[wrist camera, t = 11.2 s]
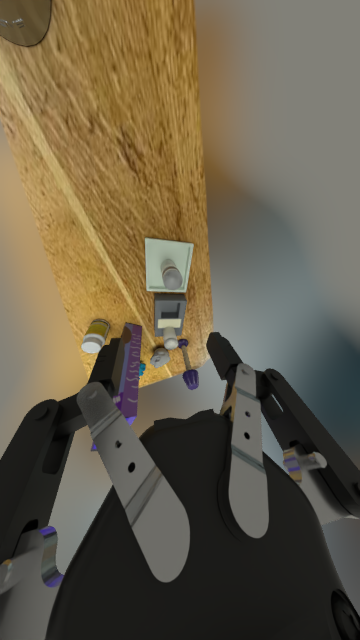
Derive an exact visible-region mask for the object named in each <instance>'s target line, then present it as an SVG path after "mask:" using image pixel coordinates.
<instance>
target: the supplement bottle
mask: <svg viewBox="0 0 360 640" xmlns="http://www.w3.org/2000/svg"><path fill="white" fill-rule="evenodd" d="M109 329H110V325H109V323H108V322H106V321H105V320H100V319H99V320H95V321H93V322H92V323H91V325H90V327H89V329H88V331H87V332H86V334H85V336H84V338H83V343H82V346H81V348H82V350H83V351H85V352H87V353H97V352H99V351H100V350H101V347H102V346H103V345H104V343H105V341H106V338H107V335H108V332H109Z"/></svg>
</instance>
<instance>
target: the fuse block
mask: <svg viewBox="0 0 360 640" xmlns="http://www.w3.org/2000/svg"><path fill="white" fill-rule="evenodd" d="M186 304H187V300H186V298H185V296H184V294H159V293H155V306H154V331H155V337H158V336H163V338H164V347H165V348H166V349H168V350H172V349H175V348H176V347H177V346H178V340H177V337H176V336H179V335H181V333H182V327H183V321H184V315H185V310H186Z"/></svg>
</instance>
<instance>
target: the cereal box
mask: <svg viewBox="0 0 360 640" xmlns="http://www.w3.org/2000/svg"><path fill="white" fill-rule="evenodd" d="M141 333H142V326H139V325H135V324H131V323H127V322H126V323H125V326H124V329H123V332H122V335H121V338H122V341H123V345H124V350H125V357H124V363H123V369H122V375H121V381H120V387H119V393H118V396H113V402H114V403H115V405H116V406H117V408H118V409H119V410H120V411H121V413H122V414H123V416H124V417H125V419H126V420H127V422H128V423H129V425H131V424H132V422H133V421H134V419H135V418H136V417H137V401H138V385H139V368H140V350H141ZM91 451H98V450H97V448H96V446H95V444H94V442H93V444H92V448H91Z"/></svg>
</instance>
